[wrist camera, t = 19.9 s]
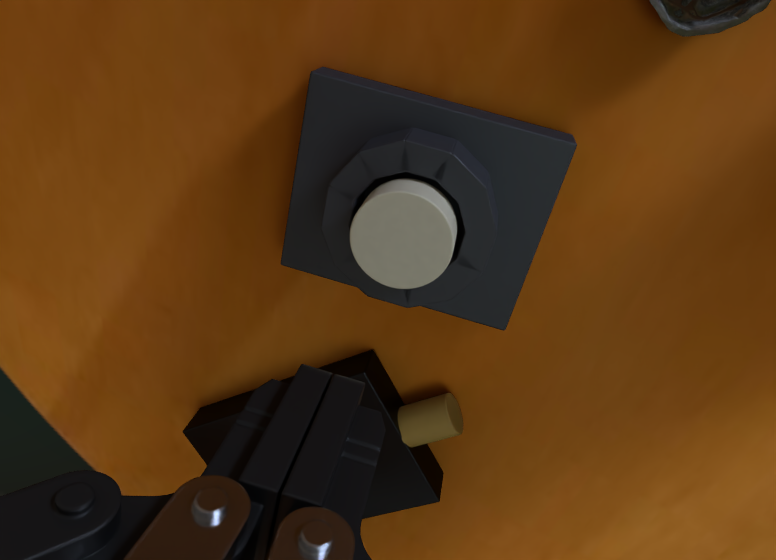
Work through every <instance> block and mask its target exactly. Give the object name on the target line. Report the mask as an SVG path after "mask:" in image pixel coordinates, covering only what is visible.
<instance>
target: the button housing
mask: <svg viewBox="0 0 776 560" xmlns="http://www.w3.org/2000/svg"><path fill="white" fill-rule="evenodd" d="M576 146H577V144H576V142H575V139H574V137H573V135H571V134H568V133H564V132H560V131H557V130H553V129H549V128H546V127H542V126H538V125H535V124H531V123H527V122H524V121H520V120H516V119H513V118H509V117H505V116H502V115H498V114H494V113H491V112H487V111H483V110H480V109H476V108H472V107H469V106H465V105H461V104H458V103H454V102H450V101H447V100H443V99H439V98H436V97H432V96H428V95H425V94H421V93H417V92H414V91H410V90H406V89H403V88H399V87H395V86H392V85H388V84H384V83H381V82H377V81H373V80H370V79H366V78H362V77H359V76H355V75H351V74H348V73H344V72H340V71H337V70H333V69H329V68H326V67H321V68H319V69H316V70H314V71H311V73H310V79H309V85H308V92H307V98H306V104H305V111H304V117H303V124H302V130H301V136H300V143H299V149H298V156H297V162H296V168H295V175H294V181H293V188H292V194H291V200H290V207H289V213H288V220H287V226H286V232H285V239H284V245H283V251H282V258H281V265H284V266H287V267H290V268H294V269H297V270H300V271H304V272H307V273H311V274H314V275H317V276H321V277H324V278H328V279H331V280H334V281H338V282H341V283H344V284H348V285H351V286H355V287H358V288H359V289H360V290H361V291H362V292H363V293H365V294H366V295H367V296H369V297H372V298H376V299H379V300H382V301H386V302H389V303H393V304H396V305H399V306H403V307H406V308H410V307H416V306H422V307H426V308H429V309H433V310H436V311H439V312H443V313H446V314H450V315H453V316H456V317H460V318H463V319H466V320H470V321H473V322H477V323H480V324H483V325H487V326H490V327H494V328H497V329H500V330H505V329H506V327H507V324H508V322H509V319H510V316H511V314H512V311H513V309H514V306H515V304H516V301H517V298H518V296H519V293H520V291H521V288H522V286H523V283H524V280H525V278H526V275H527V273H528V270H529V267H530V265H531V262H532V260H533V257H534V255H535V252H536V249H537V247H538V244H539V242H540V239H541V237H542V234H543V231H544V229H545V226H546V224H547V221H548V219H549V216H550V213H551V211H552V208H553V206H554V203H555V200H556V198H557V195H558V193H559V190H560V188H561V185H562V182H563V180H564V177H565V175H566V172H567V170H568V167H569V164H570V162H571V159H572V157H573V154H574V151H575V149H576ZM400 178H411V179H417V180H421V181H424V182H426V183H428V184H430V185H432V186H434V187H435V188H437V189H438V190H439V191H441V192H442V193H443V194H444V195H445V197H446V198H447V199H448V200H449V202H450V203H451V205H452V207H453V209H454V212H455V215H456V219H457V236H456V241H455V245H454V250H453V254H452V258H451V260H450V263H449V264H448V266H447V268H446V269H445V270H444V272H443V273H442V274H441V275H440V276H439V277H438V278H436V279H435V280H434V281H432V282H430V283H429V284H426V285H424V286H421V287H417V288H412V289H398V288H392V287H388V286H386V285H383V284H381V283H379V282H377V281H375V280H374V279H372V278H371V277H370V276H368V275H367V274H366V273H365V272H364V271H363V270H362V269H361V267H360V266H359V265H358V263H357V261H356V260H355V258H354V255H353V253H352V250H351V246H350V227H351V224H352V221H353V218H354V216H355V214H356V213H357V211H358V210H359V208H360V207H361V205H362V204H363V202H364V201H365V199H366V198H367V197H368V195H369V194H370V193H371V192H372V191H373V190H374V189H375V188H377V187H378V186H380V185H381V184H383V183H385V182H387V181H391V180H394V179H400Z"/></svg>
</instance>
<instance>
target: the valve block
mask: <svg viewBox="0 0 776 560" xmlns="http://www.w3.org/2000/svg"><path fill="white" fill-rule="evenodd" d="M318 369H321V370H324V371H327V372H331V373H333V376H334V374H338V375H341V376H344V377H348V378H351V379H354V380H358V381H361V382H364V383H365V387H364V391H363V395H362V399H361V402H360V406H364V407H367V408H370V409H373V410H377V411H380V412H381V414H382V418H383V421H384V425H385V429H386V431H385V435H384V439H383V443H382V446H381V450H380V454H379V457H378V461H377V465H376V469H375V472H374V476H373V480H372V484H371V487H370V491H369V495H368V498H367V502H366V506H365V510H364V513H363V517H362V519H364V518H369V517H373V516H378V515H382V514H387V513H391V512H396V511H400V510H404V509H409V508H413V507H418V506H422V505H427V504H431V503H436V502H439V501H440V495H441V488H442V480H443V471H442V469H441V468H440V466H439V464H438V462H437V461H436V459H435V457H434V455H433V454H432V452H431V450H430V448H429V447H428V445H427V443H431V442H435V441H438V440H442V439H446V438H450V437H453V436H457V435H460V434H462V432H463V418H462V414H461V410H460V407H459V405H458V403H457V401H456V399H455V397H454V396H453V395H452V394H451V393H446V394H442V395H439V396H435V397H432V398H429V399H425V400H422V401H418V402H415V403H412V404H408V405H405V404H404V403H403V401H402V399H401V397H400V396H399V394H398V392H397V390H396V389H395V387H394V385H393V383H392V382H391V380H390V378H389V376H388V375H387V373H386V371H385V369H384V368H383V366H382V364H381V362H380V360H379V359H378V357H377V355H376V353H375V352H374V350H370V351H367V352H364V353H361V354H358V355H355V356H352V357H349V358H346V359H343V360H340V361H337V362H334V363H331V364H328V365H325V366H322V367H320V368H318ZM293 378H294V376H293V377H290V378H287V379H284V380H281V382H284V383H288V384H291V382H292V380H293ZM332 378H333V377H332ZM254 390H256V389H254ZM254 390H251V391H248V392H246V393H243V394H240V395H237V396H234V397H231V398H228V399H225V400H222V401H219V402H216V403H213V404H210V405H207V406H204V407H201V408H200V409H199V410H198V411H197V413H196V414H195V415H194V417H193V418H192V419H191V421H190V422H189V423H188V425H187V426H186V427H185V429H184V430H183V433H184V434H185V436H186V437H187V439H188V440H189V441H190V443H191V444H192V445H193V447H194V448H195V449H196V451H197V452H198V453H199V455H200V456H201V457H202V459H203V460H204V461H205V463H206V464H207V465H208V464H209V463H210V461H211V459H212V458H213V456H214V455H215V453H216V451H217V450H218V448H219V447H220V445H221V443H222V442H223V440H224V439H225V437H226V435H227V434H228V432H229V430H230V429H231V427H232V426H233V424H234V423H235V422H236V419H237V418H238V416H239V414H240V413H241V411H242V410H244V407H245V405H246V403H247V402H248V400H249V398H250V397H251V395H252V394H253V392H254Z"/></svg>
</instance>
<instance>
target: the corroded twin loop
mask: <svg viewBox="0 0 776 560" xmlns="http://www.w3.org/2000/svg"><path fill="white" fill-rule="evenodd" d="M770 1H771V0H650V3H651V4H652V5H653V7H654V8H655V9H656V11H657V12H658V14H659V17H660V18H661V19H662V21H663V22H664V23H665V25H666V27H667V28H668V29H669V30H670V31H672V32H674V33H676V34H678V35H681V36H696V35H704V34H711V33H719V32H721V31H723V30H725V29H728V28H731V27H733V26H736V25H738V24H740V23H743V22H745V21H747V20H748V19H749V18H751V17H752V16H753V15H755V14H757V13H759V12H761V11H763V10H764V9H765V8H766V7H767V6H768V4H769V3H770Z"/></svg>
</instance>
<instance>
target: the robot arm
mask: <svg viewBox="0 0 776 560" xmlns="http://www.w3.org/2000/svg"><path fill="white" fill-rule="evenodd" d="M332 377H333V378H332ZM364 387H365V383H364V382H361V381H358V380H354V379H351V378H348V377H344V376H341V375H338V374H334V376H333V373H331V372H327V371H324V370H321V369H318V368H314V367H311V366H308V365H304V364H301V366H300V367H299V369H298V371H297V373H296V374H295V376H294V378H293V380H292V382H291V384H288V383H284V382H281V381H278V380H275V379H271V380H270V381H268V382H267V383H265V384H263V385H262V386H260V387H259V388H257V389H256V390H254V392H253V394H252V395H251V397H250V398H249V400H248V402H247V403H246V405H245V407H244V410H242V411H241V413H240V414H239V416H238V418H237V419H236V422H235V423H234V424H233V426H232V427H231V429H230V430H229V432H228V434H227V435H226V437H225V439H224V440H223V442H222V443H221V445H220V447H219V448H218V450H217V451H216V453H215V455H214V456H213V458H212V459H211V461H210V463H209V464H208V466H207V467H206V469H205V471H204V472H203V473H202V475H201V476H200V477H196V478H194V479H191V480H189V481H188V482H186V483H184V484H183V485H182V486H180V487H179V488H178V489H177V490H176V492H175V493H172V494H168V495H162V496H121V491H120V488H119V486H118V485H117V483H116V482H115V481H114V480H113V479H112V478H111V477H109V476H107V475H106V474H103V473H100V472H96V471H88V470H83V471H74V472H69V473H66V474H62V475H59V476H56V477H54V478H51V479H48V480H45V481H42V482H40V483H37V484H34V485H31V486H28V487H26V488H23V489H20V490H17V491H14V492H12V493H9V494H6V495H3V496H0V560H372V559H371V558H370V557H369V555H368V554H367V552H366V550H365V548H364V546H363V543H362V540H361V535H360V526H361V521H362V517H363V513H364V510H365V506H366V502H367V498H368V495H369V491H370V487H371V484H372V480H373V476H374V472H375V469H376V465H377V461H378V457H379V454H380V450H381V446H382V443H383V439H384V435H385V431H386V429H385V425H384V421H383V418H382V414H381V412H380V411H377V410H373V409H370V408H367V407H364V406H360V402H361V399H362V395H363V391H364Z"/></svg>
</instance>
